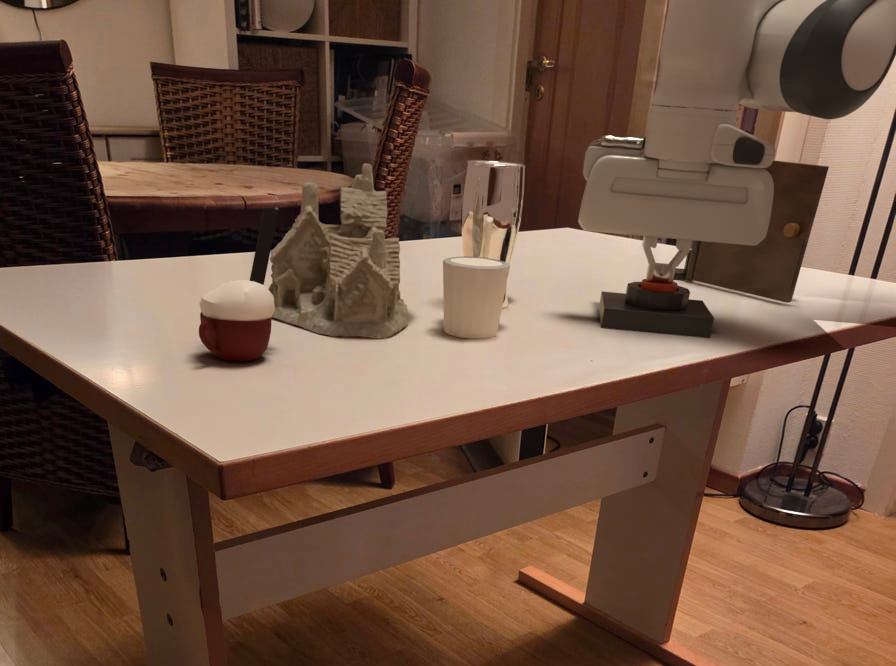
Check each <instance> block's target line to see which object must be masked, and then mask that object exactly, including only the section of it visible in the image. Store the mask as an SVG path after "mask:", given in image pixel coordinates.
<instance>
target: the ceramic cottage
mask: <svg viewBox="0 0 896 666" xmlns="http://www.w3.org/2000/svg"><path fill="white" fill-rule="evenodd" d="M301 187H302V188H301V189H302V190H301V203H300V205H301V206H300V212H299V215H297V216H296V218H294V221H295V222H293V224H292V226H291V228H290V229H289V230H288V231H287V233H285V234H284V237H282V240H280V241H279V242H278V243H277V244H276V246H274V248H273V249H271V251H270V256H269V261H270V263H271V267H270V270H271V272H272V273H271V275H270V277H271V279H272V280H271V283H270V284H269V286H268V288H267V289H268V290H269V291H270V292H271V294H272V295H273V297H274V306H275V311H274V313H273V315H272V318H273V319H277V320H279V321H281V322H283V323H288V324H291V325H294V326H295V325H296V326H298V327H301V328H303V329H305V330H308V331H310V332H313V333H316V334H321V335H327V336H330V337H337V336H338V337H340V336H341V337H345V338H346V337H347V338H348V337H349V336H350V337H351V338H353V337H354V336H358V337H363V338H372V339H373V338H374V339H376V338H377V339H380V340H381V339H382V338H384V339H386V338H390V337H391V336H395V334H397V333H398V332H399V333H400V332H401V330H402V329H404V328H406V327H407V326H408V324H409V316H408V313H409V311H408V304H406V303H405V301H404V299H403V298H401V291H400V283H401V259H400V252H401V246H400V237H391V238H386V235H385V232H386V230H387V227H388V225H387V220H388V203H387V195H388V194H387V191H386V190H381V191H377V190H375V185H374V174H373V166H372V164H370V163H363V164H362V167H361V174H356V175H355V177H354V179H353V181H352V185H351V187H346V186H340V189H339V210H340V211H339V221H340V224H326V223H322V222H321V221H320V217H319V192H318V191H319V185H317V183H316V182H308V181H306V182H304V183H302V185H301Z"/></svg>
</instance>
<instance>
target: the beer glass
mask: <svg viewBox="0 0 896 666" xmlns="http://www.w3.org/2000/svg"><path fill="white" fill-rule="evenodd" d="M525 173H526V165H525V164H524V163H518V162H510V161H500V160H483V159H471V160H469V159H468V160H466V167H465V175H464V180H463V187H462V195H461V196H462V197H461V210H460V225H461V228H460V229H461V241H462V253H463V255H462V256H469V257H483V258H490V259H496V260H500V261H503V262H507V263H508V264H510V263H511V259H512V256H513V252H514V248H515V245H516V241H517V239H518V238H517V237H518V234H519V229H520V226H521V220H522V215H523V214H522V213H523V207H524V195H525V175H526V174H525ZM510 265H511V264H510ZM508 306H509V298H508V283H507V284H506V289H505V295H504V300H503V305H502V310H503V309H506V308H507V307H508Z"/></svg>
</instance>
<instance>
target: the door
mask: <svg viewBox="0 0 896 666" xmlns="http://www.w3.org/2000/svg"><path fill="white" fill-rule="evenodd" d="M829 168H830V166H827V165H819V164H811V163H802V162H791V161H785V160H784V161H783V160H776V159H774V160H773V162H772V164H771V165H770V166H769V167H767V168H762V169H765V170H766V171H768V172H769V173H770V175H771V176H772V179H773V183H774V194H773V204H772V211H771V217H770V222H769V226H768V231H767V234H766V237H765V238H764V239H763V240H762V241H761V242H760V243H759V244H757V245H755V246H753V245H741V244H730V243H719V242H707V241H696V240H692V244H691V248H690V250H691V254H690V258H689V263H688V268H687V272H686V277H685V279H688V280H692V281H694V282H698V283H703V284H707V285H711V286H716V287H719V288H724V289H728V290H731V291H736V292H740V293H744V294H748V295H753V296H757V297H762V298H766V299H770V300H774V301H778V302H781V303H786V304H787V303H791V302H792V300H793V297H794V293H795V291H796V290H795V289H796V287H797V284H798V279H799V276H800V273H801V268H802V265H803V261H804V257H805V254H806V250H807V247H808V243H809V239H810V236H811V232H812V229H813V225H814V223H815V219H816V215H817V211H818V207H819V204H820V200H821V196H822V193H823V190H824V186H825V183H826V179H827V175H828V171H829Z"/></svg>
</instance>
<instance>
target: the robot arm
mask: <svg viewBox="0 0 896 666" xmlns="http://www.w3.org/2000/svg"><path fill="white" fill-rule="evenodd" d="M895 58H896V0H670V2H669V6H668V10H667V15H666V20H665V24H664V28H663V35H662V40H661V45H660V51H659V78H658V82H657V87H656V89H655V91H654V93H653V96H652V99H651V102H650V107H649V112H648V118H647V124H646V130H645V136H644V137H641V136H615V135H611V134H605V135H601V138H598V139H595V140H593V141H592V142H591V143H590V144H589V145H588V146H587V147H586V149H585V152H584V157H583V164H582V175H583V177H584V179H585V181H586V183H585V187H584V190H583V194H582V198H581V203H580V206H579V207H580V208H579V213H578V219H577V221H578V224H579V226H580V227H581V228H582V230H583V231H585V232H594V233H607V234H615V235H617V234H618V235H629V236H641V237H643V238H642V244H641V245H642V248H643V251H644V254H645V258H646V261H647V264H648V265H647V271H646V275H645V279H646V280H647V281H655V282H666V283H673V282H674V281H675V279H674V275H675V270H676V268H677V267H679V265H680V264H681V263H682V262H683V261H684V259H686V257H687V254H688V253H689V252H690V250H691V249H692V244H693V240H696V241H707V242H719V243H730V244H741V245H753V246H755V245H757V244H759V243H760V242H761V241H762V240H763V239H764V238H765V237H766V234H767V231H768V226H769V222H770V217H771V211H772V204H773V194H774V183H773V179H772V176H771V175H770V173H769V172H768V171H766V170H765V169H762V168H767V167H769V166H770V165H771V164H772V162H773V160H775V156H776V147H775V146H774V144H772V143H771V142H768V141H766V140H764V139H762V138H760V137H758V136H755V135H753V132H751V131H749V130H746V129H740V128H738V127H737V123H736V122H737V117H738V113H739V112H738V111H739V109H740V106H743V107H745V108H749V109H756V110H768V111H771V112H786V113H799V114H802V115H804V116H805V115H806V116H808V117H809V116H810V117H814V118H817V119H818V118H819V119H822V120H823V119H824V120H836V119H840V118H841V119H842V118H844V117H846V116H849V115H850V114H852V113H854V112H856V111H857V110H859V108H861V107H862V106H863V105H864V104H866V103H867V102H868V101H869V99H871V98H872V96H873V95H874V94H875V92H876V91H877V90H878V89H879V87H880V86H881V85H882V84H883V82H884V80H885V78H886V77H887V75H888V73H889V71H890V69H891V67H892V65H893V63H894V61H895ZM599 144H600V146H596V145H599ZM659 238H661V239H662V238H663V239H674V240H676V242H675V248H676V249H677V250H678V251H677V252H676V254H675V255H674V256H673V257H672V258H671V260H670V261H669V263H663V262H656V261H655V257H654V253H653V251H652V249H656V248H657V245H658V240H659Z"/></svg>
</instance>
